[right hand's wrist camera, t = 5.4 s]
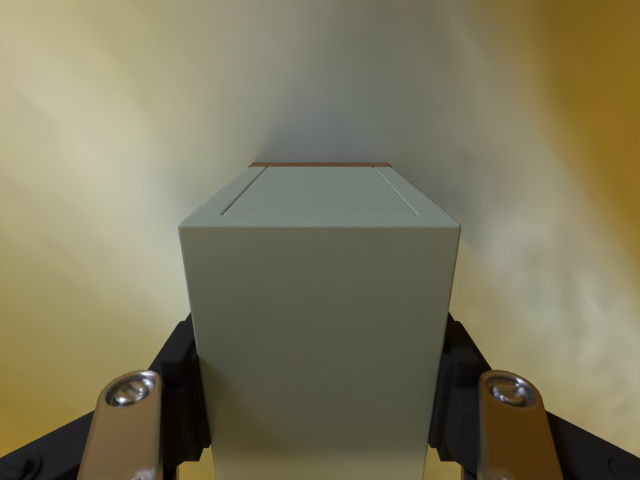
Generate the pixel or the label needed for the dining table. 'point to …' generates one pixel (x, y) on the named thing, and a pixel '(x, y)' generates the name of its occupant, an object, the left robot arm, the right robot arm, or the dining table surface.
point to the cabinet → (319, 320)
